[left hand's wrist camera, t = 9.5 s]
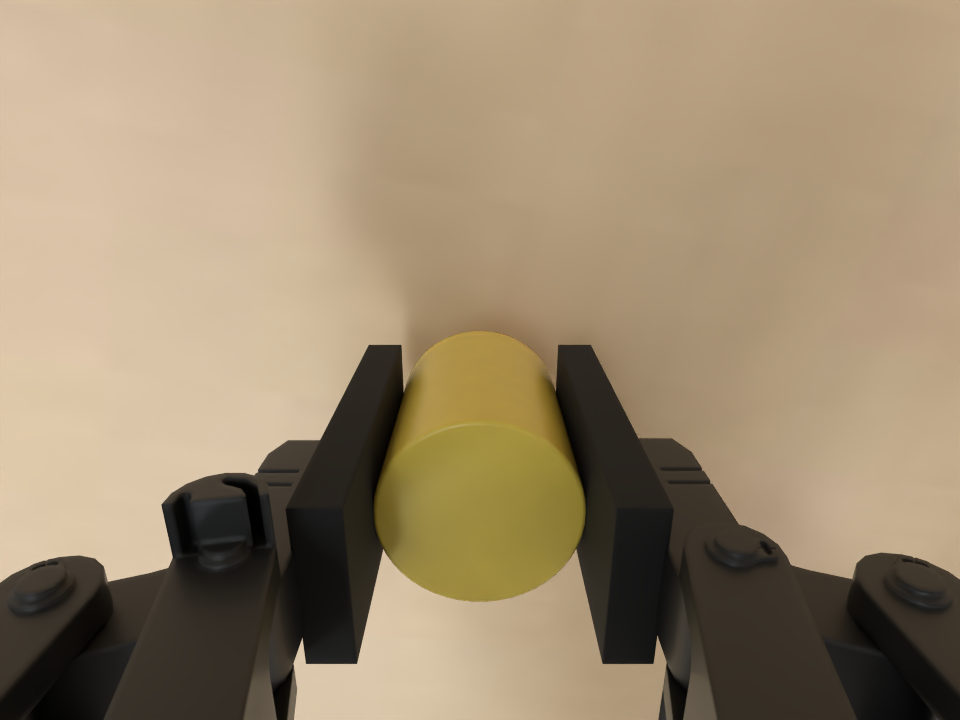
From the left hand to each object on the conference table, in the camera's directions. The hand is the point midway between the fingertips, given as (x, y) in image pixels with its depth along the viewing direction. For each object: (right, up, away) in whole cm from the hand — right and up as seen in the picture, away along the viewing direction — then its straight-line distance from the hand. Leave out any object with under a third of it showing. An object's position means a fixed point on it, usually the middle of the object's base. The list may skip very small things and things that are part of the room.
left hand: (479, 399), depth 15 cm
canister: (0, 0, 0) cm, 0 cm away
